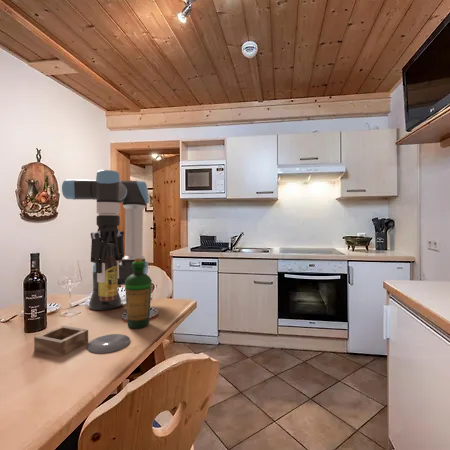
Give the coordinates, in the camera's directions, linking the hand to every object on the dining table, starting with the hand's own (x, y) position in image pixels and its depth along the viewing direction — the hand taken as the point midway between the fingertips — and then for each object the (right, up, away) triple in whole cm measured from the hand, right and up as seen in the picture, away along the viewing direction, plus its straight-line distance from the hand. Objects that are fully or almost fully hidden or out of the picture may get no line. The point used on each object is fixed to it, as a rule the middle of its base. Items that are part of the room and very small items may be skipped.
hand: (108, 280), depth 98 cm
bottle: (+5, -23, +18) cm, 29 cm away
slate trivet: (0, -23, 0) cm, 23 cm away
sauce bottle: (0, -7, 0) cm, 7 cm away
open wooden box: (-15, -23, -2) cm, 28 cm away
